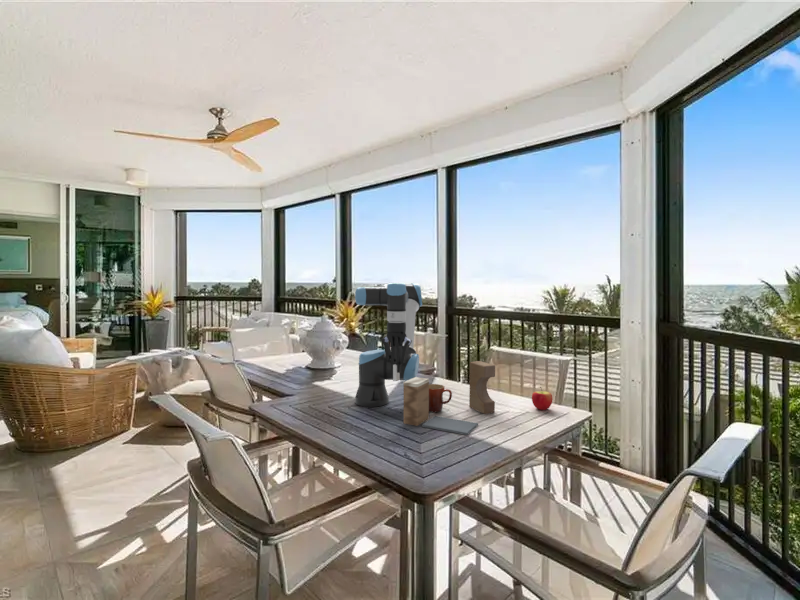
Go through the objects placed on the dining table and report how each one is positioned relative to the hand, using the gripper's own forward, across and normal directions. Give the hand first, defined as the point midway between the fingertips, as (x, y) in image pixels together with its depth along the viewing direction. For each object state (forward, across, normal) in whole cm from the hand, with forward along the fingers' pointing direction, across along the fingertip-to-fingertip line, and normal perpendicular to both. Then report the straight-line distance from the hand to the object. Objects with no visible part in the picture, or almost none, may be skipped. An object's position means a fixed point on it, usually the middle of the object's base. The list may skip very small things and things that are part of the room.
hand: (396, 380), depth 178 cm
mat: (+15, +23, +1) cm, 27 cm away
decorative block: (+15, +27, +26) cm, 41 cm away
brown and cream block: (+15, +9, 0) cm, 18 cm away
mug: (+15, +11, +16) cm, 25 cm away
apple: (+15, +49, +40) cm, 65 cm away
